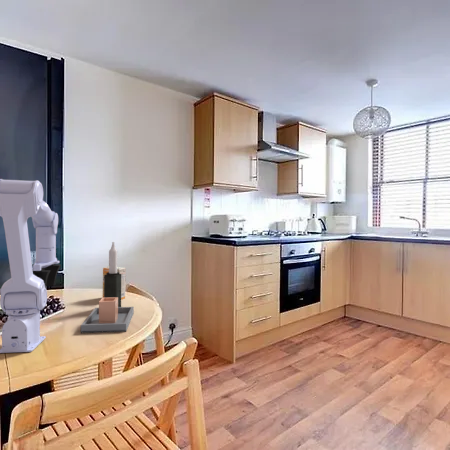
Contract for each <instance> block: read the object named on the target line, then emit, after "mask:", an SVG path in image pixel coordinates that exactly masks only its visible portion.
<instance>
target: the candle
mask: <svg viewBox="0 0 450 450" xmlns="http://www.w3.org/2000/svg"><path fill="white" fill-rule="evenodd" d="M108 250H109V251H108V267H109V272H108V273H106V275H104V298H109V297H118V307H122V300H121V274H119V272H117V267H118V250H117V248H116V246H115V242H114V241H112V242H111V247H110V249H108Z"/></svg>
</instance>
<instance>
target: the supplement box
mask: <svg viewBox="0 0 450 450" xmlns="http://www.w3.org/2000/svg"><path fill="white" fill-rule="evenodd" d="M108 272H109V266H105V267H103V268H102V298H104V275H106V273H108ZM117 272H119V274H121V301H122V300H124V299H126V285H127V284H126V280H127V279H126V276H127V275H126V274H127V268H126V267H120V266H119V267H118V266H117Z"/></svg>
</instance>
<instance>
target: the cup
mask: <svg viewBox="0 0 450 450" xmlns="http://www.w3.org/2000/svg"><path fill="white" fill-rule="evenodd" d="M98 308H99V323H115V322H116V320H117V319H118V297H109V298H103V297H102V298H101V299H100V300H99V301H98Z"/></svg>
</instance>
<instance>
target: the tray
mask: <svg viewBox="0 0 450 450" xmlns="http://www.w3.org/2000/svg"><path fill="white" fill-rule="evenodd" d="M134 312H135V311H134V306H121V307H118V319H117V320H116V322H115V323H99V307H94V309H93V310H92V311H91V313H90V314H89V315H88V316H87V317H86V319H85V320H84V321H83V322H82V323H81V325H80V334H98V333H103V334H104V333H124V332H125V333H126V332H127V331H128V328H129V326H130V324H131V321H132V319H133V316H134Z"/></svg>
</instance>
